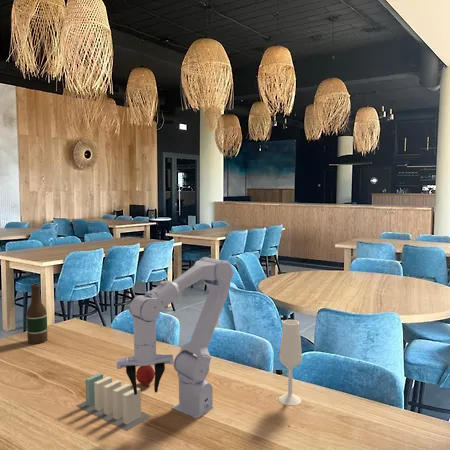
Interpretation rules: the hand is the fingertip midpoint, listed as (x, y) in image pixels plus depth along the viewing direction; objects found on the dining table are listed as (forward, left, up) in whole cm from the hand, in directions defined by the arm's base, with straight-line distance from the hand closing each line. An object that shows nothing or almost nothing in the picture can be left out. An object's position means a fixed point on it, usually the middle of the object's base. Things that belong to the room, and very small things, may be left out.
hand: (145, 391), depth 113 cm
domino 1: (+22, 0, -10) cm, 23 cm away
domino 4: (+10, 0, -10) cm, 13 cm away
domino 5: (+6, 0, -10) cm, 11 cm away
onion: (+18, -17, -10) cm, 27 cm away
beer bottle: (+84, -19, -10) cm, 87 cm away
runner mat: (+14, 0, -10) cm, 17 cm away
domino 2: (+18, 0, -10) cm, 20 cm away
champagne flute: (-24, -36, -10) cm, 44 cm away
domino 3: (+14, 0, -10) cm, 16 cm away
